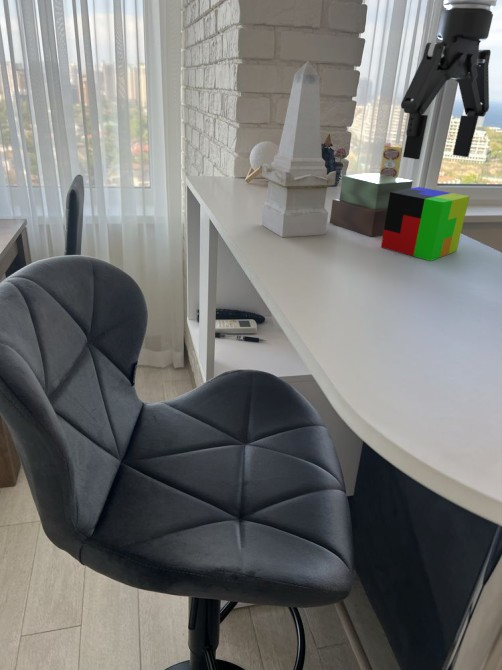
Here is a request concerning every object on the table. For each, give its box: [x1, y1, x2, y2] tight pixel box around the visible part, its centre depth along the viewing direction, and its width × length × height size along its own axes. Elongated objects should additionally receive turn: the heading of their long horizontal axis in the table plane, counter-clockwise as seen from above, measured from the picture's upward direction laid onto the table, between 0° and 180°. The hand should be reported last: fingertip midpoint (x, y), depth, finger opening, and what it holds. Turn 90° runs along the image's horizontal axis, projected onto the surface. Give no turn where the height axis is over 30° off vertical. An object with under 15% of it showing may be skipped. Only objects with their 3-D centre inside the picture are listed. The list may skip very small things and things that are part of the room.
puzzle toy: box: [380, 186, 471, 262], centre depth 91 cm, size 10×10×10 cm
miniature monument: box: [261, 60, 337, 238], centre depth 95 cm, size 10×10×30 cm
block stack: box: [329, 172, 413, 238], centre depth 105 cm, size 12×12×10 cm
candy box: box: [379, 142, 403, 178], centre depth 117 cm, size 9×4×15 cm, turn 165°
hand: (436, 157), depth 86 cm, fingers open, 13 cm apart
